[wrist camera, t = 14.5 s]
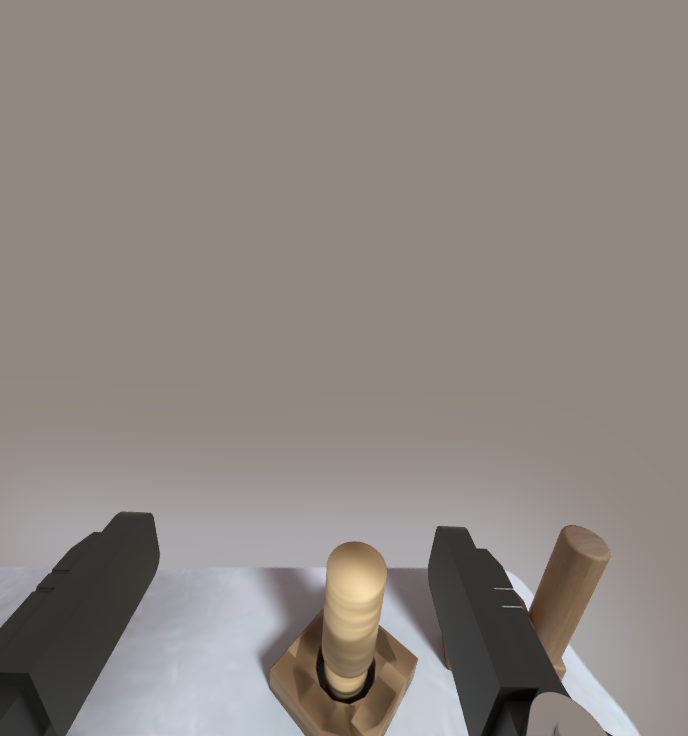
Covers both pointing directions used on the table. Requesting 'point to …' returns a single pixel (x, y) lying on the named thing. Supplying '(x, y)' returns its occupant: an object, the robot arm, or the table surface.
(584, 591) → the wooden block
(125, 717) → the table surface
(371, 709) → the square wooden ring
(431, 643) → the table surface
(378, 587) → the oak leg
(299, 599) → the table surface
